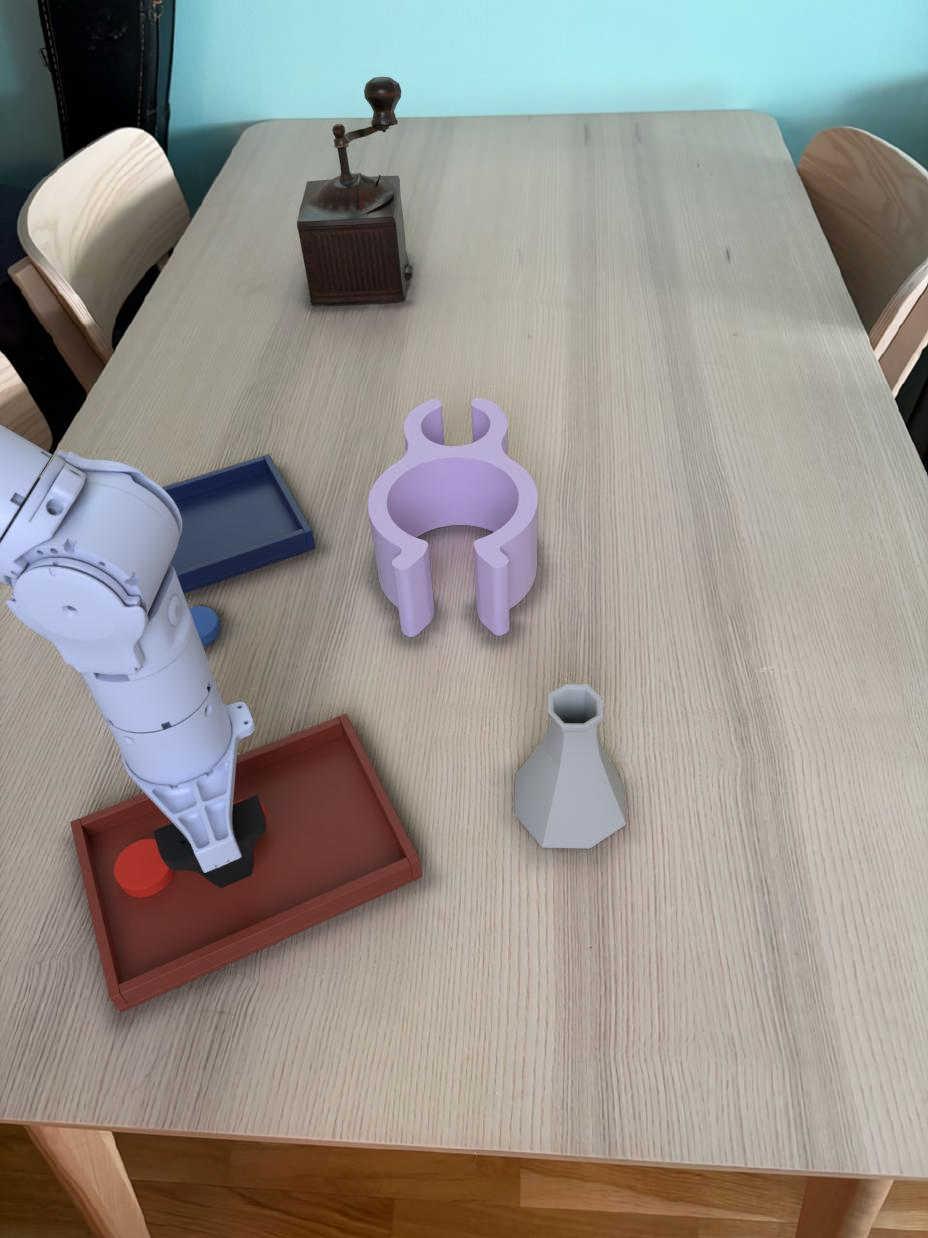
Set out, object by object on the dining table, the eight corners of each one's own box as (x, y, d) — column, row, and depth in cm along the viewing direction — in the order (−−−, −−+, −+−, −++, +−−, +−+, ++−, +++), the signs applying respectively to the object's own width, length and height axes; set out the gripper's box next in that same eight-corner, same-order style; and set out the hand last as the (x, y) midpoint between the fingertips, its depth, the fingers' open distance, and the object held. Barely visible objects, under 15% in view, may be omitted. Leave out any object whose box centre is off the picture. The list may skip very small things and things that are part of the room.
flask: (532, 866, 58) (533, 773, 51) (497, 770, 63) (494, 672, 56) (644, 835, 60) (662, 739, 52) (602, 742, 64) (612, 643, 57)
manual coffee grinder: (411, 302, 104) (395, 126, 91) (309, 307, 104) (278, 132, 91) (415, 235, 115) (401, 68, 102) (322, 239, 115) (296, 74, 102)
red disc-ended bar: (125, 907, 57) (112, 887, 56) (113, 860, 59) (101, 840, 58) (278, 842, 60) (271, 821, 58) (262, 799, 62) (254, 778, 60)
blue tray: (103, 621, 74) (94, 603, 73) (76, 534, 81) (68, 515, 80) (315, 548, 78) (312, 530, 77) (273, 471, 86) (269, 453, 84)
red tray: (120, 1013, 54) (109, 999, 52) (80, 838, 61) (69, 821, 60) (422, 877, 58) (420, 860, 57) (350, 730, 66) (346, 712, 64)
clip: (389, 467, 85) (381, 400, 80) (532, 463, 85) (532, 396, 80) (370, 637, 72) (359, 570, 67) (540, 635, 71) (541, 566, 66)
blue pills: (213, 609, 74) (206, 586, 73) (226, 638, 72) (218, 616, 70) (89, 652, 72) (78, 631, 70) (98, 684, 70) (87, 663, 68)
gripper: (275, 764, 46) (319, 900, 55) (196, 572, 55) (246, 718, 65) (126, 824, 44) (199, 953, 54) (69, 615, 53) (141, 758, 63)
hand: (217, 828), depth 59 cm, fingers open, 7 cm apart
